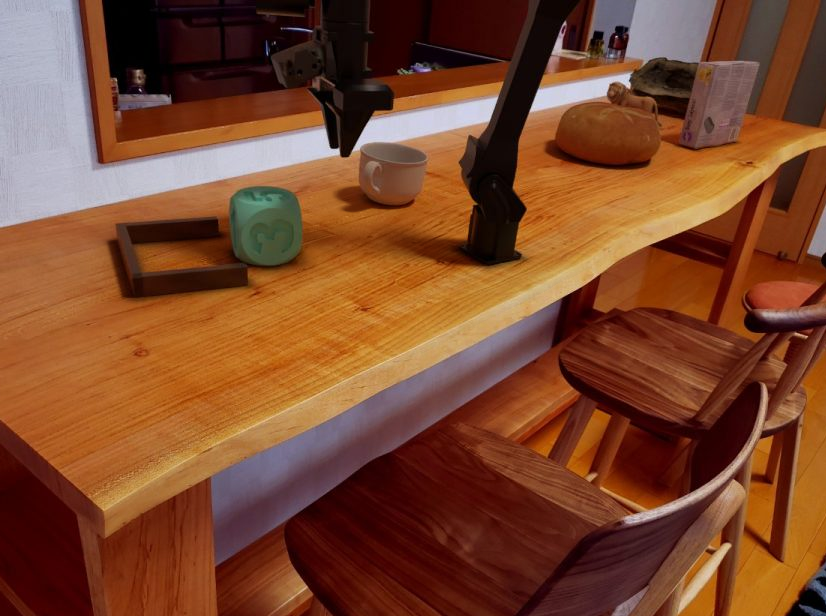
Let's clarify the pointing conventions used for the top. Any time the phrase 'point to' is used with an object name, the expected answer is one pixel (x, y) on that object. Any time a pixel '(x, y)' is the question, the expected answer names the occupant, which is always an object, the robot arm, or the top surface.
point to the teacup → (391, 172)
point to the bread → (608, 133)
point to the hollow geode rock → (665, 82)
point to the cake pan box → (718, 103)
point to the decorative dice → (265, 225)
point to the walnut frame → (179, 277)
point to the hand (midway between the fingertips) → (339, 152)
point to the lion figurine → (630, 99)
